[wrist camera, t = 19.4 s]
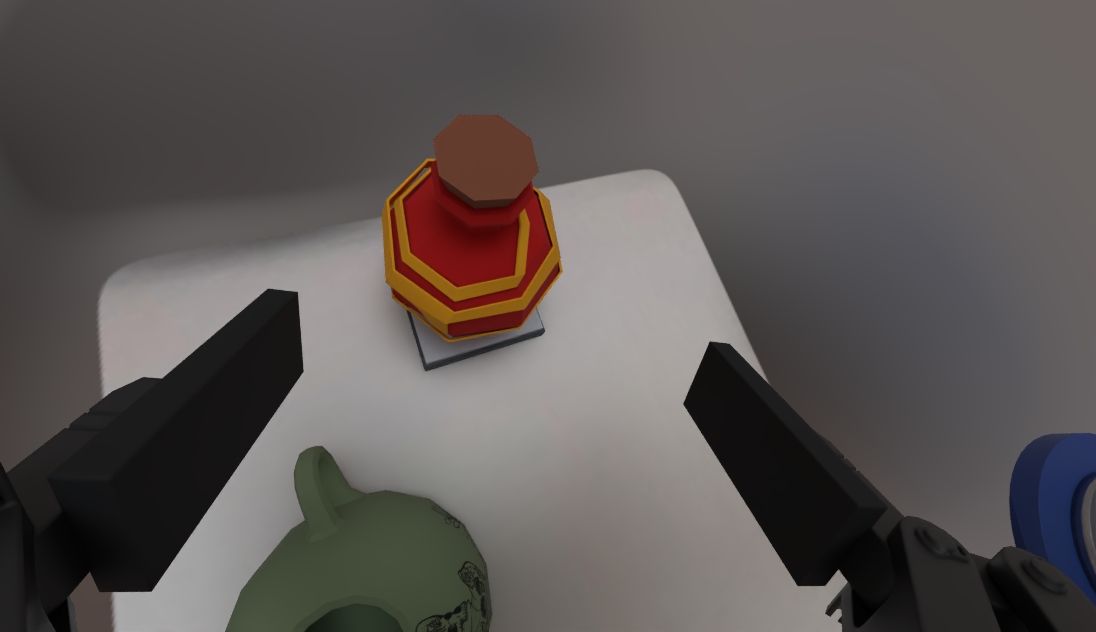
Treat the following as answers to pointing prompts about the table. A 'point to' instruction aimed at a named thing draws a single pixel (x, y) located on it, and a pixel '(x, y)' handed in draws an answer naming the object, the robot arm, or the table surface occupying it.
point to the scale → (466, 341)
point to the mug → (365, 564)
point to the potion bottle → (472, 232)
